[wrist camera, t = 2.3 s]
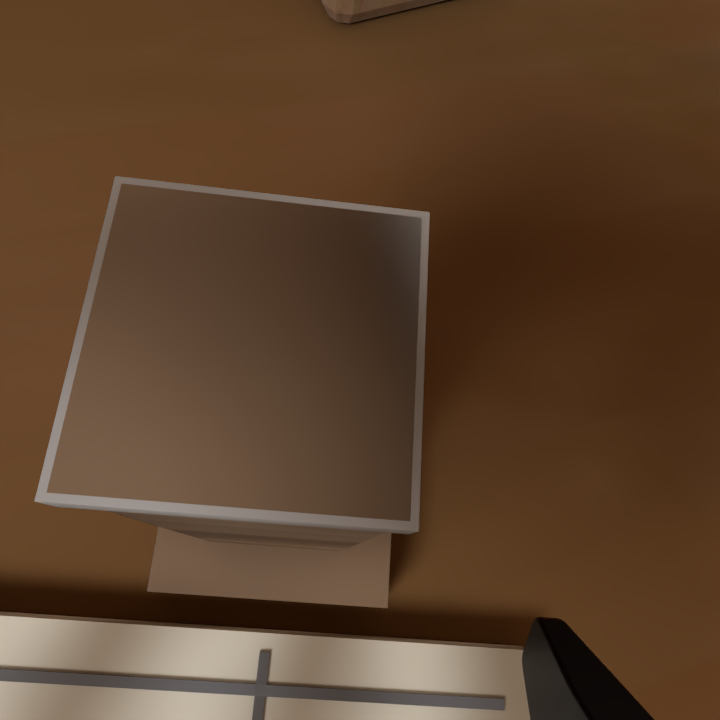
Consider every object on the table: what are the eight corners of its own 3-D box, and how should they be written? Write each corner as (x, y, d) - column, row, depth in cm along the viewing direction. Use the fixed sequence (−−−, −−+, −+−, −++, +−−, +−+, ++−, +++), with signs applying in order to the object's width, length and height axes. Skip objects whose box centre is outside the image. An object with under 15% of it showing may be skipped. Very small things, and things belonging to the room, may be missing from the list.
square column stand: (379, 604, 19) (543, 678, 6) (162, 589, 19) (-149, 634, 6) (390, 398, 22) (527, 140, 9) (197, 380, 21) (32, 79, 8)
